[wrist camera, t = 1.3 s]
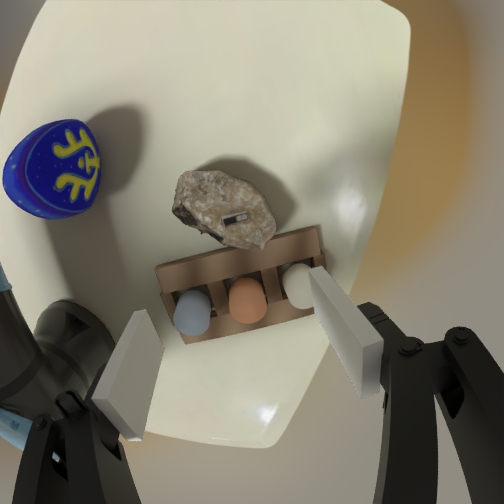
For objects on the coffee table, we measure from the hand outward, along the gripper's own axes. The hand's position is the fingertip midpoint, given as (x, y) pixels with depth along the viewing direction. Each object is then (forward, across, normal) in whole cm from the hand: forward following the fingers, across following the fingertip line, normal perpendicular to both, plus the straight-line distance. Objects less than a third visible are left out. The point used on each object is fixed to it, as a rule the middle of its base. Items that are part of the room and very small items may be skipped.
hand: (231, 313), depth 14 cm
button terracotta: (+20, 0, -9) cm, 22 cm away
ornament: (+22, -17, +13) cm, 30 cm away
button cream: (+20, +7, -9) cm, 23 cm away
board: (+21, 0, -9) cm, 23 cm away
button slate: (+20, -7, -9) cm, 23 cm away
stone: (+22, 0, +2) cm, 22 cm away
